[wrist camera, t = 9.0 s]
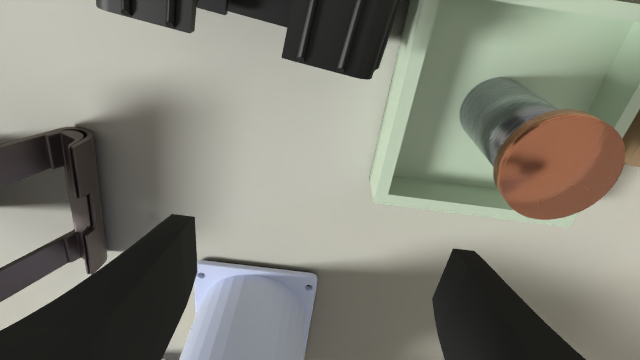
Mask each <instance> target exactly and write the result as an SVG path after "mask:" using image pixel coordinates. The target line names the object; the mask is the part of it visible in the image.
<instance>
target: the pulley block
mask: <svg viewBox="0 0 640 360" xmlns="http://www.w3.org/2000/svg"><path fill="white" fill-rule="evenodd" d="M622 140H623V142H624V146H625V162H624V163H625V164H627V165H632V166H639V167H640V109H639V111H638V113H637V114H636V116H635V118H634V120H633V121H632V123H631V125H630V126H629V128H628V130H627V131H626V133H625V135H624V136H623V138H622Z"/></svg>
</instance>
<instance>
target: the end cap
mask: <svg viewBox="0 0 640 360" xmlns="http://www.w3.org/2000/svg"><path fill="white" fill-rule="evenodd" d="M400 2H401V0H96V6H97V7H98V8H100V9H102V10H105V11H108V12H112V13H116V14H119V15H123V16H127V17H131V18H134V19H138V20H142V21H146V22H149V23H153V24H157V25H161V26H164V27H168V28H172V29H175V30H179V31H183V32H187V33H191V32H193V31H194V28H195V16H196V7H197V8H201V9H204V10H208V11H212V12H215V13H219V14H223V15H226V14H227V11H229V12H233V13H237V14H240V15H244V16H248V17H251V18H255V19H258V20H262V21H266V22H269V23H273V24H277V25H280V26H284V27H287V33H286V38H285V43H284V48H283V53H282V58H284V59H288V60H291V61H295V62H299V63H303V64H306V65H310V66H314V67H318V68H321V69H325V70H329V71H333V72H336V73H340V74H344V75H348V76H351V77H355V78H360V79H371V78H372V75H373V72H374V71H375V70H376V69H378V68H379V65H380V62H381V59H382V56H383V53H384V50H385V47H386V44H387V41H388V38H389V35H390V32H391V29H392V26H393V23H394V20H395V17H396V14H397V11H398V8H399V5H400Z"/></svg>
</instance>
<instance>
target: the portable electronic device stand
mask: <svg viewBox="0 0 640 360" xmlns="http://www.w3.org/2000/svg"><path fill="white" fill-rule="evenodd" d="M62 166H64V168H65V174H66V180H67V186H68V192H69V198H70V204H71V210H72V217H73V223H74V230H73V231H71V232H69V233H67V234H65V235H63V236H61V237H59V238H57V239H55V240H54V241H52V242H50V243H48V244H46V245H44V246H42V247H40V248H38V249H36V250H34V251H32V252H30V253H28V254H27V255H25V256H23V257H21V258H19V259H17V260H15V261H13V262H11V263H9V264H7V265H5V266H3V267H1V268H0V302H1V301H3V300H5V299H7V298H8V297H10V296H12V295H13V294H15V293H17V292H19V291H20V290H22V289H24V288H25V287H27V286H29V285H31V284H32V283H34V282H36V281H37V280H39V279H41V278H42V277H44V276H46V275H48V274H49V273H51V272H53V271H54V270H56V269H58V268H60V267H61V266H63V265H65V264H66V263H68V262H73V261H75V260H77V259H79V258H83V259H85V265H86V271H87V274H92V275H93V274H94V273H95V272H96V271H97V270H98V269H99V268H100V267H101V266H102V265H103V264H104V263H105V262H106V260H107V250H106V241H105V232H104V224H103V215H102V206H101V197H100V189H99V180H98V171H97V163H96V154H95V145H94V136H93V133H92V132H91V131H90V130H88V129H85V128H80V127H64V128H59V129H56V130H52V131H48V132H45V133H41V134H37V135H34V136H30V137H27V138H23V139H19V140H16V141H12V142H9V143H5V144H2V145H0V186H3V185H5V184H8V183H11V182H14V181H17V180H19V179H22V178H25V177H28V176H31V175H33V174H36V173H39V172H42V171H44V170H47V169H50V168H52V169H55V168H59V167H62Z"/></svg>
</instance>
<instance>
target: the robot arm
mask: <svg viewBox="0 0 640 360" xmlns="http://www.w3.org/2000/svg"><path fill="white" fill-rule="evenodd" d="M201 273H204V274H201ZM193 284H194V288H195V306H196V317H195V319H194V322H193V324H192V327H191V330H190V332H189V335H188V338H187V340H186V343H185V345H184V348H183V351H182V353H181V356H180V359H179V360H304V356H305V350H306V344H307V339H308V333H309V327H310V322H311V316H312V310H313V305H314V299H315V293H316V288H317V276H316V275H315V274H313V273H308V272H299V271H291V270H282V269H273V268H265V267H256V266H247V265H239V264H230V263H221V262H213V261H204V260H199V261H197V252H196V233H195V217H191V216H183V215H174V214H172V215H171V216H169V217H168V218H166V219H165V220H164V221H163V222H161V223H160V224H159V225H157V226H156V227H155V228H154V229H152V230H151V231H150V232H149V233H147V234H146V235H145V236H144V237H142V238H141V239H140V240H138V241H137V242H136V243H135V244H133V245H132V246H131V247H129V248H128V249H127V250H125V251H124V252H123V253H121V254H120V255H119V256H118V257H116V258H115V259H114V260H112V261H111V262H110V263H108V264H107V265H105V266H104V267H103V268H101V269H100V270H98V271H97V272H96V273H94V274H93V275H91V276H90V277H88V278H87V279H85V280H84V281H82V282H81V283H80V284H78V285H77V286H75V287H74V288H72V289H71V290H69V291H68V292H66V293H65V294H63V295H62V296H60V297H58V298H57V299H55V300H54V301H52V302H50V303H49V304H47V305H45V306H44V307H42V308H40V309H38V310H37V311H35V312H33V313H32V314H30V315H28V316H27V317H25V318H23V319H21V320H20V321H18V322H16V323H14V324H12V325H10V326H9V327H7V328H5V329H3V330H1V331H0V360H161V359H162V357H163V355H164V353H165V351H166V349H167V347H168V344H169V342H170V340H171V338H172V336H173V334H174V332H175V329H176V327H177V325H178V323H179V321H180V319H181V316H182V314H183V312H184V310H185V308H186V305H187V302H188V300H189V297H190V294H191V291H192V288H193ZM307 285H311V286H307ZM432 300H433V307H434V315H435V321H436V327H437V333H438V337H439V341H440V344H441V348H442V351H443V355H444V358H445V360H586V359H584V358H583V357H582V356H581V355H580V354H579V353H578V352H576V351H575V350H574V349H573V348H572V347H571V346H570V345H569V344H568V343H567V342H565V341H564V340H563V339H562V338H561V337H560V336H559V335H558V334H557V333H556V332H555V331H554V330H552V329H551V328H550V327H549V326H548V325H547V324H546V323H545V322H544V321H543V320H542V319H541V318H540V317H539V316H538V315H537V314H536V313H535V312H534V311H533V310H532V309H531V308H530V307H529V306H528V305H527V304H526V303H525V302H524V301H523V300H522V299H521V298H520V297H519V296H518V295H517V294H516V293H515V292H514V291H513V290H512V289H511V288H510V287H509V286H508V285H507V284H506V283H505V282H504V280H503V279H502V278H501V277H500V276H499V275H498V274H497V273H496V272H495V271H494V270H493V269H492V268H491V267H490V266H489V265H488V264H487V263H486V262H485V261H484V260H483V259H482V258H481V257H480V256H479V255H478V254H477V253H476V252H475V251H469V250H461V249H453V250H452V253H451V255H450V257H449V260H448V262H447V265H446V267H445V269H444V272H443V274H442V277H441V279H440V282H439V284H438V286H437V289H436V291H435V294H434V296H433V298H432Z"/></svg>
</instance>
